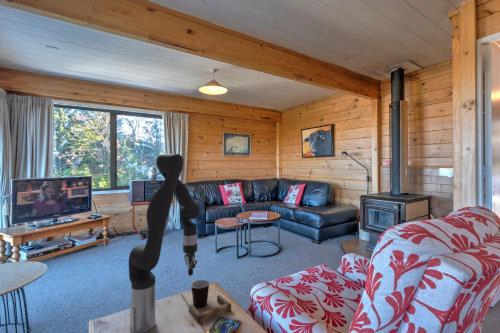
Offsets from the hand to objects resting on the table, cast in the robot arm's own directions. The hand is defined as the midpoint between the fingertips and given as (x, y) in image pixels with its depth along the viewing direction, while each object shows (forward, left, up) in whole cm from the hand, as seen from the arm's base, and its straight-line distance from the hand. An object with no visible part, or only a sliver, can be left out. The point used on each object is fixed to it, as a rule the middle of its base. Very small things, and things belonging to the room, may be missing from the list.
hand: (190, 274), depth 132 cm
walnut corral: (0, -24, -9) cm, 25 cm away
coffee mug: (0, -14, -9) cm, 17 cm away
